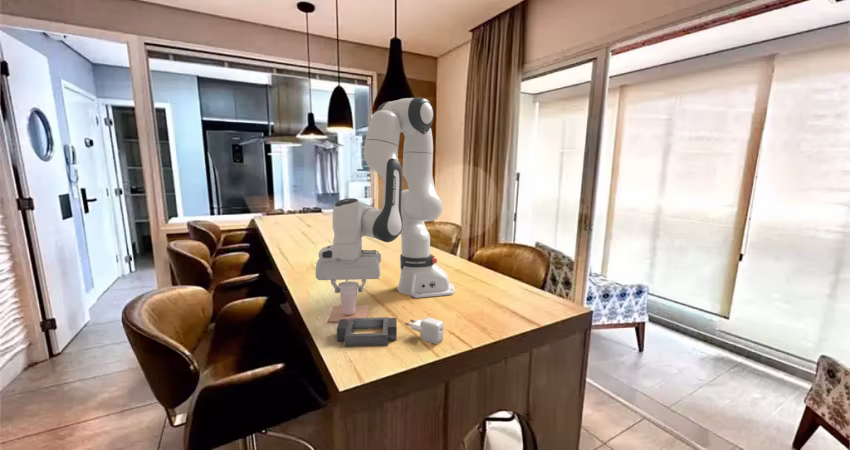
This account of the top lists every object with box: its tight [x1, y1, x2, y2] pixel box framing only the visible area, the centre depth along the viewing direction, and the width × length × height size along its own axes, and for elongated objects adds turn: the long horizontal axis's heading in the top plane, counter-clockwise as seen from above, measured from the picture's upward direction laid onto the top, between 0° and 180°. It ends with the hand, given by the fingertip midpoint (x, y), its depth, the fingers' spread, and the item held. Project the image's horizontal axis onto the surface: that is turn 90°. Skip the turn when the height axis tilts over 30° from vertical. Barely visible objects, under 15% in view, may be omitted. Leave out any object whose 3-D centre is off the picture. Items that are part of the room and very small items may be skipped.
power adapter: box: [404, 316, 444, 345], centre depth 102 cm, size 11×5×6 cm, turn 57°
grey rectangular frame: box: [336, 316, 398, 348], centre depth 103 cm, size 16×12×4 cm
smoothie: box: [338, 280, 360, 315], centre depth 116 cm, size 6×6×14 cm
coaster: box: [326, 304, 370, 325], centre depth 117 cm, size 12×12×1 cm
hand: (349, 292), depth 116 cm, fingers closed on smoothie, 6 cm apart
